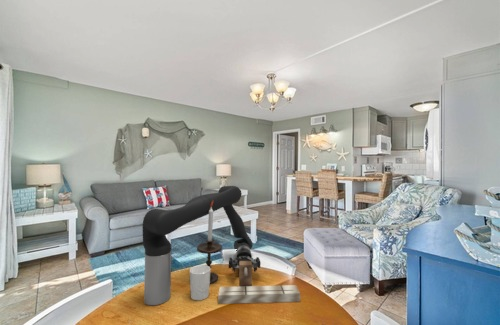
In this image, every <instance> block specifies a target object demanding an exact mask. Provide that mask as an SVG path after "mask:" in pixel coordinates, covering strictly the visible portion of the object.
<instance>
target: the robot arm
mask: <svg viewBox="0 0 500 325" xmlns="http://www.w3.org/2000/svg"><path fill="white" fill-rule="evenodd" d="M241 198H242V190H241V189H240V188H239V186H236V185H222V186H221V187H220V188H219V190H218V192H214V193H213V192H212V193H207V194H206V193H205V194H201V195H199V196H195V197H194V198H191V199H190V200H188V202H187V203H186V204H185V205H183V206H181V207H178V208H175V209H167V210H166V209H160V208H153V209H152V208H151V209H150V210H148V211H147V212H146V214H145V215H144V216H143V220H142V221H143V222H142V244H143V245H142V246H143V248H144V285H143V286H144V288H143V289H144V290H143V303H144V304H145V305H147V306H158V305H162V304H165V303H166V302H168V301H169V300H170V299H171V286H172V282H171V281H172V243H171V242H170V241H169V240H168V238H167V235H170V234H171V233H173V232H175V231H176V230H178V229H179V228H181V227H183V226H185V225H186V224H189V223H191V222H194V221H196V220H197V219H200V218H203V217H205V216H207V215H208V216H209V210H210V208H211V203H212V201H213V205H212V210H213V213H214V212H215V211H218V210H220V209H223V210H224V212H225V214H226V216H227V218H228V220H229V223H230V227H231V230H232V233H233V236H234V238H236V240H234V242H233V248H234V250H235V249H237V250H236V251H237V252H236V251H235V255H236V256H235V259H234V258H233V257H229V259H228V269H231V271H232V272H234V273H236V271H237V270H236V269H239V261H251V262H252V269H253V272H254V273H255V272H257V271H258V268H259V269H260V268H261V259H260V257H259V256H257V257H256V258H253V256H252V252H251V251H252V248H253V241H252V239H251V237H250V236H249V235H248V232H247V231H246V226H245V223H244V221H243V219H242V217H241V216H240V215H239V214H238V212H237V211H236V209H235V207H234V206H233V204H237V203H238V202H239V201H240V200H241Z"/></svg>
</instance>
